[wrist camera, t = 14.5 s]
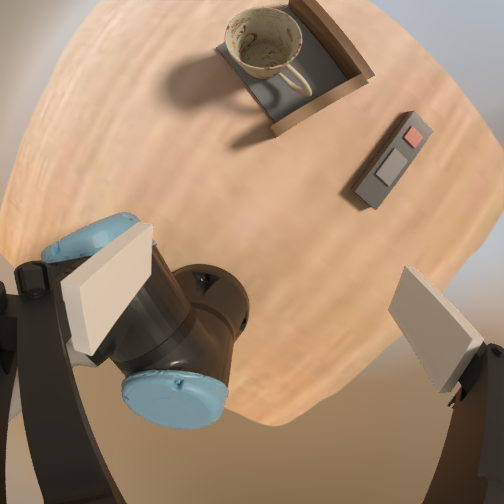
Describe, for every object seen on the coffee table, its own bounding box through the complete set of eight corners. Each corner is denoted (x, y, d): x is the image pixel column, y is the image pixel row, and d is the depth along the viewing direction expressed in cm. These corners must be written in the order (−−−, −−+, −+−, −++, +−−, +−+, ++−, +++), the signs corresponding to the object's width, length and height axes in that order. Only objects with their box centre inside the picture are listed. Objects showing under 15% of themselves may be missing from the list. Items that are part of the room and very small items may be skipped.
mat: (275, 122, 37) (275, 122, 37) (216, 48, 33) (216, 47, 33) (346, 80, 34) (347, 80, 34) (288, 8, 30) (288, 7, 30)
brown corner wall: (275, 137, 38) (277, 136, 32) (208, 51, 33) (200, 38, 28) (362, 86, 34) (377, 78, 29) (296, 3, 30) (300, -15, 24)
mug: (262, 26, 31) (262, -5, 22) (327, 82, 34) (346, 65, 25) (221, 61, 34) (208, 38, 24) (286, 118, 37) (293, 111, 27)
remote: (371, 207, 41) (376, 210, 39) (350, 189, 40) (355, 192, 38) (426, 131, 36) (434, 131, 34) (408, 111, 35) (415, 110, 33)
